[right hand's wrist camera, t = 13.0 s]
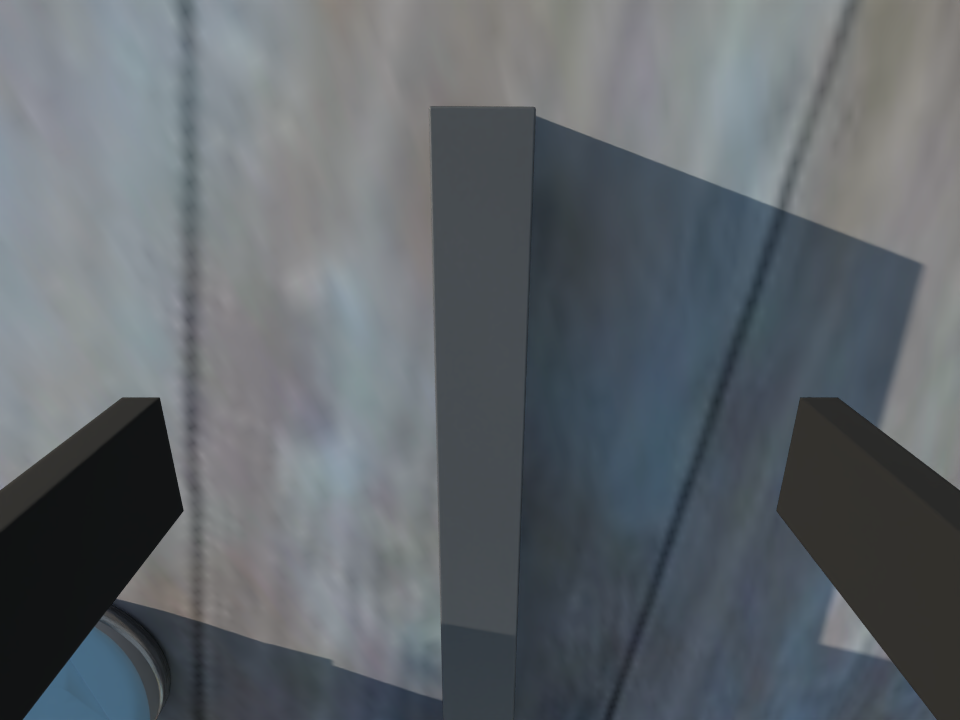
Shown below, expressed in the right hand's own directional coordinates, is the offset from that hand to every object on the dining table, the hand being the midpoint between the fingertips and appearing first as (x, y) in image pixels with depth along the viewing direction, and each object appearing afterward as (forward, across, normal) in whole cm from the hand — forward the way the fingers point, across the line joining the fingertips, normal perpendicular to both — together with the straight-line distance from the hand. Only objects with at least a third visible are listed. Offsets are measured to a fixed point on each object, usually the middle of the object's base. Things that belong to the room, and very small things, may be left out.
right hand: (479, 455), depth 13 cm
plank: (+24, 0, -20) cm, 31 cm away
